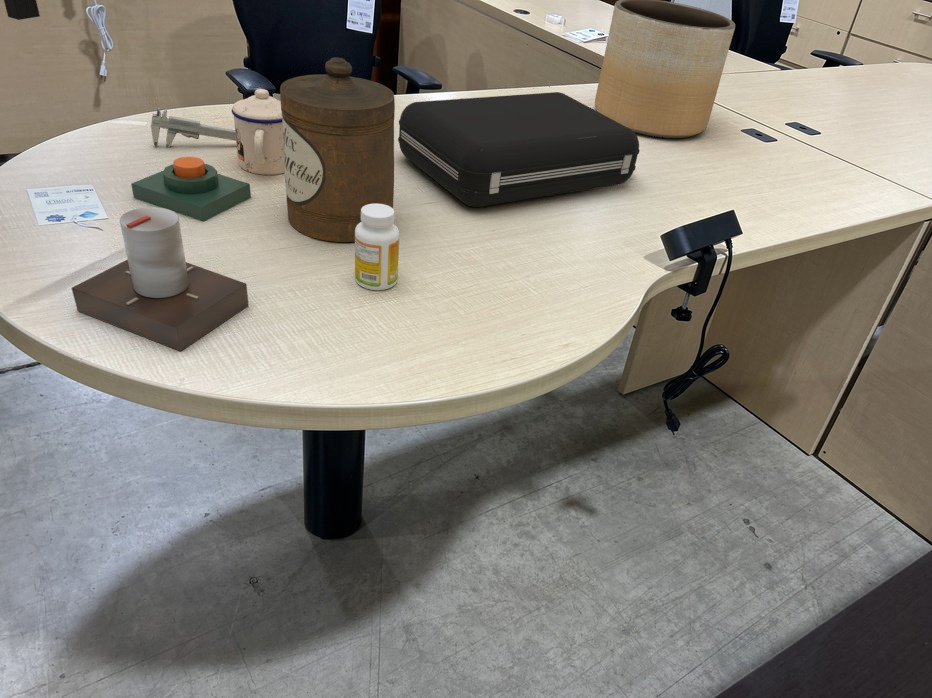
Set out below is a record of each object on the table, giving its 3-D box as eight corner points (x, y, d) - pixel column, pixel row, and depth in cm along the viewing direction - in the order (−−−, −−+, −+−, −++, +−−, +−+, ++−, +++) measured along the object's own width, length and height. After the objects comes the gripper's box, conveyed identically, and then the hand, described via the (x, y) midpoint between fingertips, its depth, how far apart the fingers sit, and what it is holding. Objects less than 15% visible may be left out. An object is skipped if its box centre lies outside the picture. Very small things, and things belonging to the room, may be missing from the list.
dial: (160, 267, 84) (148, 199, 79) (200, 282, 83) (190, 214, 78) (121, 288, 80) (106, 217, 75) (162, 303, 78) (149, 233, 73)
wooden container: (281, 199, 109) (270, 40, 95) (379, 196, 114) (383, 45, 101) (295, 246, 98) (286, 75, 85) (403, 240, 103) (411, 79, 90)
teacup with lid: (241, 152, 120) (234, 78, 113) (299, 156, 122) (295, 84, 115) (229, 181, 111) (221, 103, 104) (291, 186, 113) (287, 109, 106)
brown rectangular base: (77, 311, 81) (70, 286, 79) (152, 270, 89) (148, 247, 87) (180, 351, 77) (176, 326, 75) (248, 305, 86) (246, 282, 84)
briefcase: (536, 127, 150) (543, 76, 144) (639, 188, 131) (653, 133, 125) (374, 143, 131) (375, 85, 125) (466, 217, 112) (473, 154, 106)
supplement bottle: (388, 267, 97) (390, 198, 91) (403, 288, 93) (407, 217, 88) (349, 273, 95) (348, 202, 89) (363, 294, 91) (363, 222, 85)
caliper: (154, 148, 117) (147, 109, 113) (154, 146, 118) (147, 106, 114) (286, 147, 125) (284, 110, 121) (285, 145, 125) (283, 108, 122)
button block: (133, 198, 103) (128, 170, 100) (184, 176, 111) (181, 150, 108) (203, 222, 100) (200, 194, 98) (251, 197, 108) (248, 171, 105)
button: (168, 174, 102) (166, 162, 101) (189, 166, 105) (187, 154, 104) (191, 182, 101) (190, 170, 100) (212, 173, 104) (210, 161, 103)
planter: (724, 144, 157) (759, 33, 144) (615, 138, 151) (640, 22, 137) (677, 105, 176) (704, 4, 163) (578, 98, 170) (597, -7, 156)
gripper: (-140, -279, 66) (-52, 8, 80) (-32, -261, 63) (39, 35, 77) (-58, -266, 72) (10, 0, 86) (44, -249, 69) (97, 24, 83)
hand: (24, 16), depth 82 cm, fingers closed
